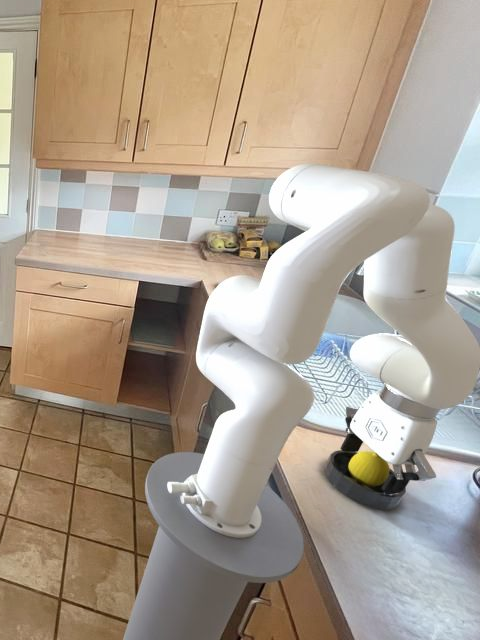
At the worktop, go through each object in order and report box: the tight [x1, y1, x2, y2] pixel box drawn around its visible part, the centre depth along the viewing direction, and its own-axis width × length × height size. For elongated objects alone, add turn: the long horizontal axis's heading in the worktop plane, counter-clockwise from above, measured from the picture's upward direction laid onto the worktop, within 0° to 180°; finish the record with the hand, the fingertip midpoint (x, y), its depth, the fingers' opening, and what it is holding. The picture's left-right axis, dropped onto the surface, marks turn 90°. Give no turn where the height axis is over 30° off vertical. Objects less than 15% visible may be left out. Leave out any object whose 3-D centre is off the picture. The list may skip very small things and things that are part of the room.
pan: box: [323, 449, 407, 511], centre depth 82 cm, size 11×11×4 cm
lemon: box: [348, 450, 390, 487], centre depth 81 cm, size 6×6×8 cm
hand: (368, 469), depth 81 cm, fingers open, 9 cm apart
